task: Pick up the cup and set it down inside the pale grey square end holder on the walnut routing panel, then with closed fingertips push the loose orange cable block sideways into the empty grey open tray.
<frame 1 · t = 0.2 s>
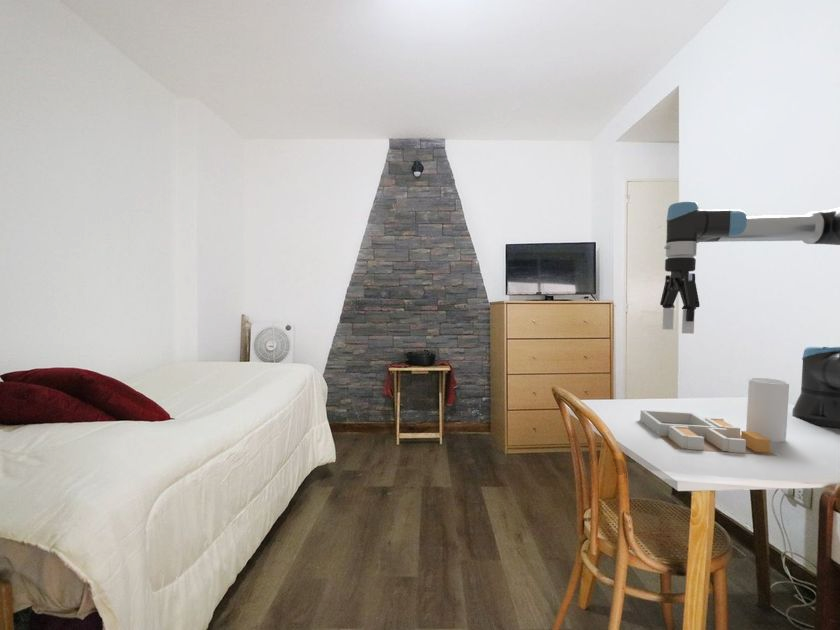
hand: (677, 331, 126), 27 cm above the table, fingers open, 13 cm apart
cable block: (754, 447, 106), point 1 cm above the table, touching panel
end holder: (676, 428, 119), resting on panel
panel: (700, 440, 114), on the table
side clips: (723, 433, 116), resting on panel
cup: (765, 441, 114), on the table
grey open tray: (727, 445, 106), resting on panel
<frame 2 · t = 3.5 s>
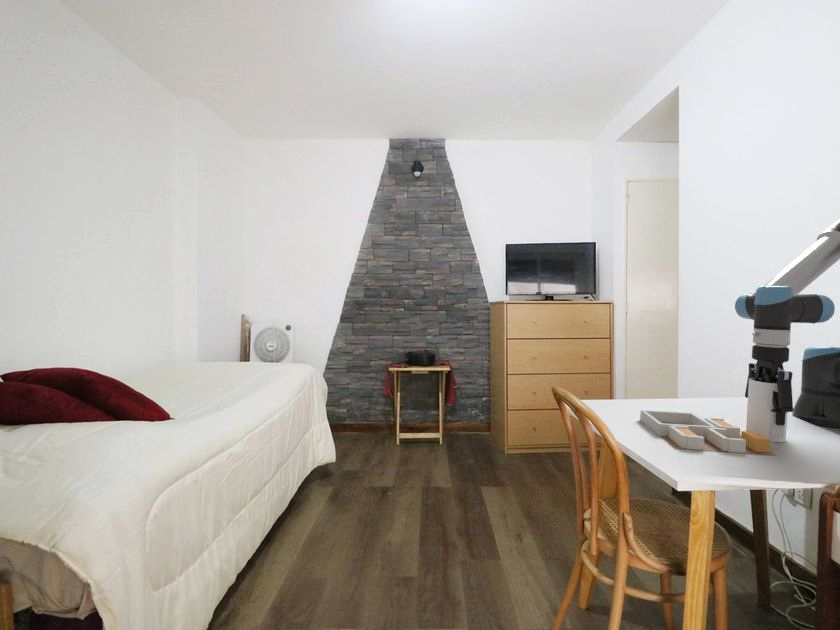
hand: (765, 431, 114), 3 cm above the table, fingers closed on cup, 8 cm apart
cup: (765, 441, 114), on the table, touching gripper
everything else where it was.
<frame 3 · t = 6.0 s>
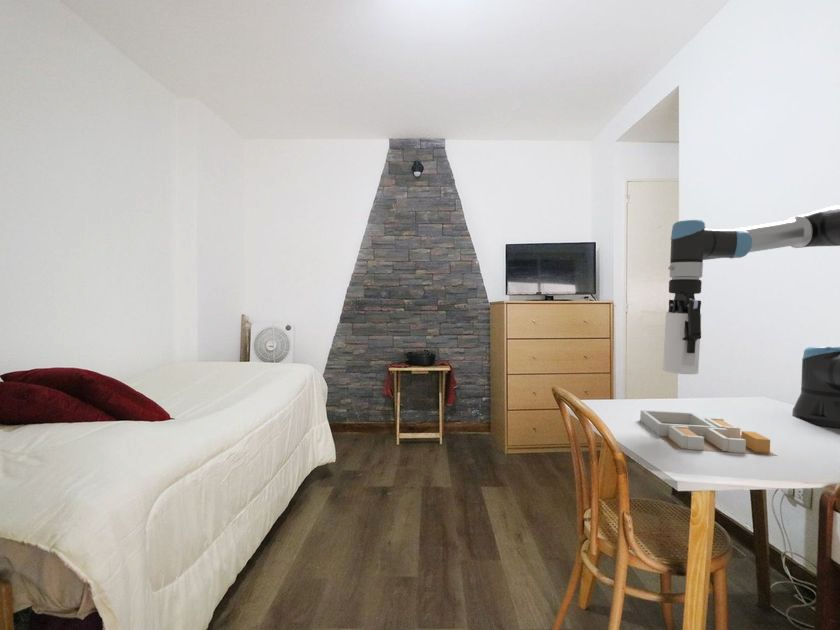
hand: (680, 362, 118), 20 cm above the table, fingers closed on cup, 8 cm apart
cup: (680, 372, 118), point 17 cm above the table, touching gripper
everything else where it was.
when the fingers open (6 cm above the table, at t = 8.5 s): cup drops 2 cm, resting on panel.
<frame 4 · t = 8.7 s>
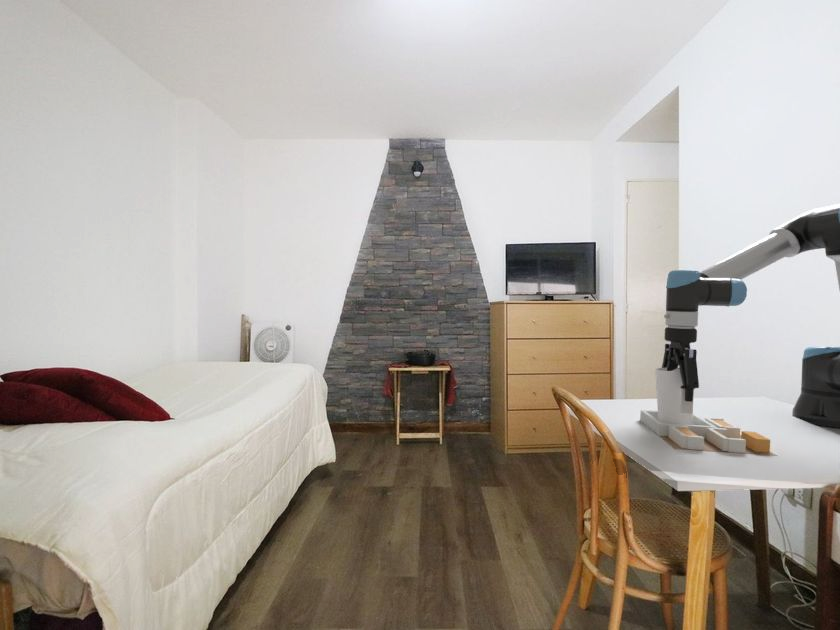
hand: (677, 407, 119), 7 cm above the table, fingers open, 10 cm apart
cup: (675, 428, 119), point 1 cm above the table, touching panel
everything else where it was.
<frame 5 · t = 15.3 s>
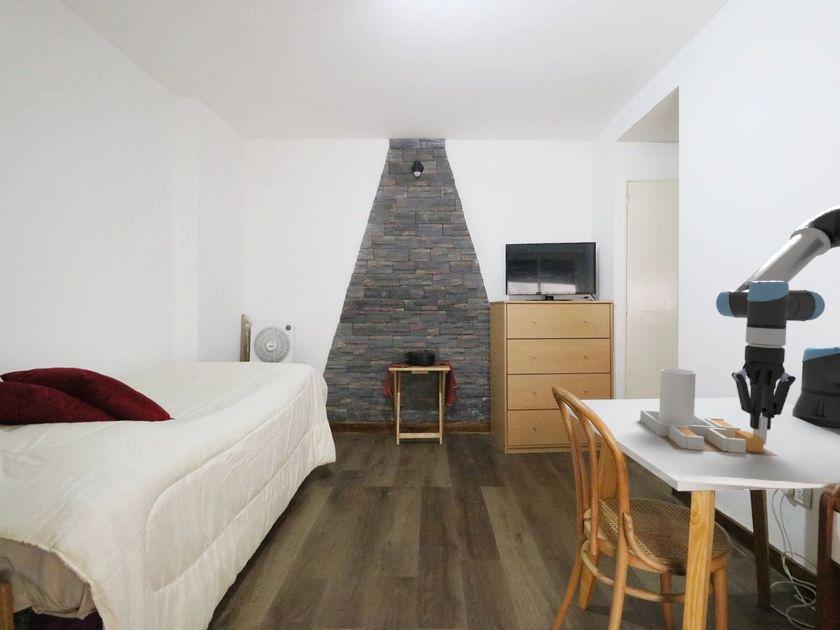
hand: (759, 442, 105), 3 cm above the table, fingers closed
cable block: (748, 447, 106), point 1 cm above the table
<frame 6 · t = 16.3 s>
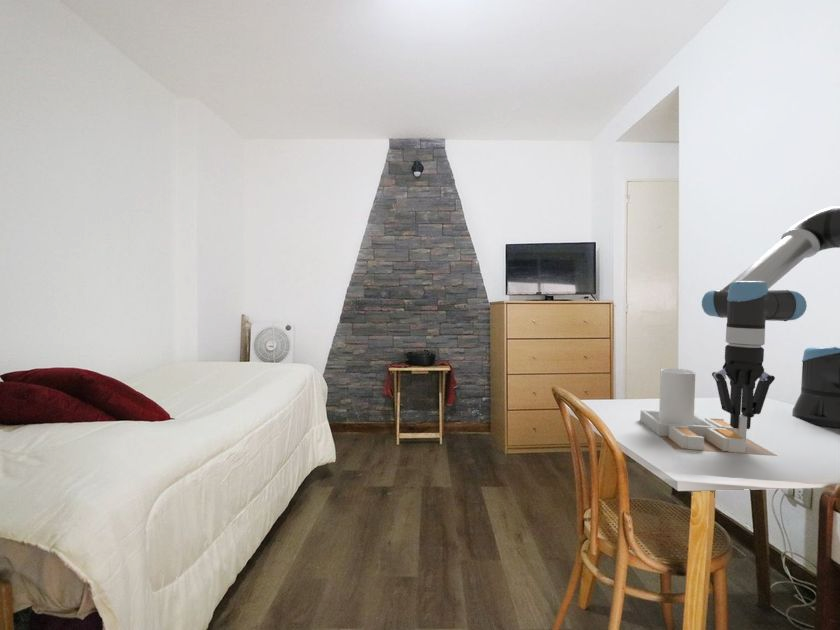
hand: (739, 441, 106), 2 cm above the table, fingers closed
cable block: (728, 445, 106), point 1 cm above the table, touching gripper
everything else where it was.
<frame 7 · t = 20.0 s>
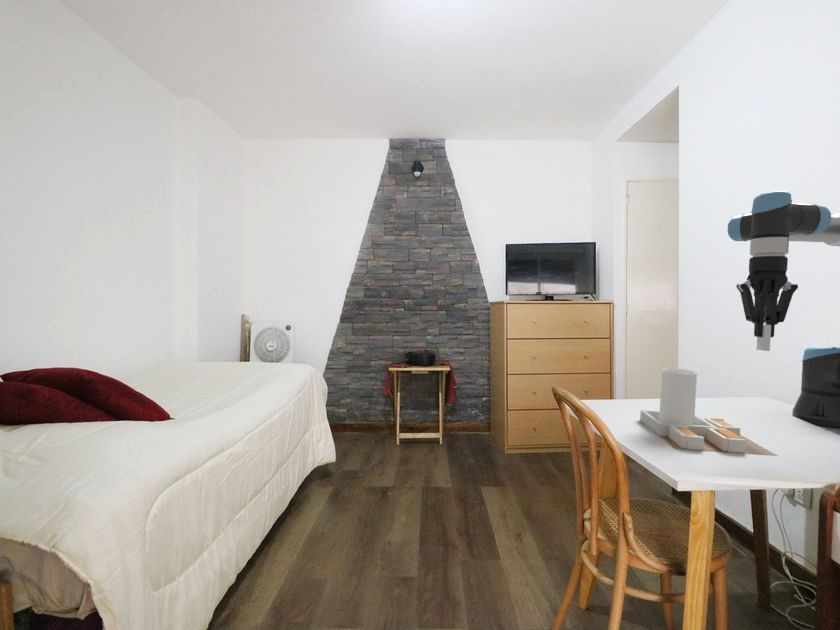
hand: (763, 350, 110), 24 cm above the table, fingers closed
cable block: (728, 445, 106), point 1 cm above the table, touching panel
at the end: cup inside the target area (0.0 cm from its centre), point 1.0 cm above the table; cup tilted 1°; cable block 0.7 cm off-centre on the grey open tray, point 0.0 cm above the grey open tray's base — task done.
